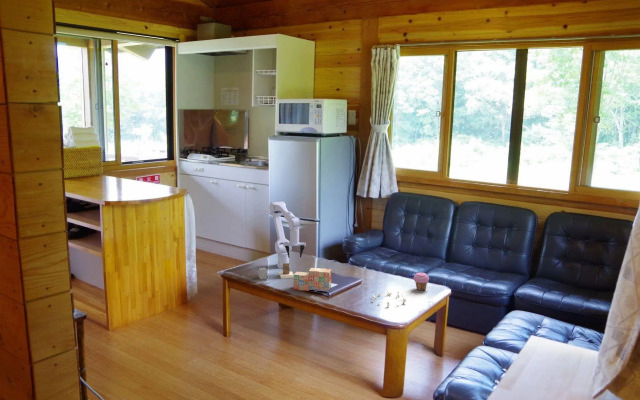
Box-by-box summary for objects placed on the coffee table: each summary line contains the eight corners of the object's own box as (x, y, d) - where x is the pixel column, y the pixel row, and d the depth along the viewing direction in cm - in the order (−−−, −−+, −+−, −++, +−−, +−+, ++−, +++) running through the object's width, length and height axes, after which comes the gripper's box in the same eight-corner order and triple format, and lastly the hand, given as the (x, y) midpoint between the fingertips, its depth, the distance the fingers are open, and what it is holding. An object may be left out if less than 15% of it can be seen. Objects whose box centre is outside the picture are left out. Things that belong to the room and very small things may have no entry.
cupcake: (416, 292, 306) (417, 275, 304) (410, 287, 314) (411, 271, 313) (431, 291, 308) (431, 274, 306) (424, 286, 316) (425, 270, 314)
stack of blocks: (293, 289, 309) (293, 269, 307) (296, 286, 315) (296, 266, 313) (329, 292, 305) (329, 272, 303) (331, 289, 311) (331, 269, 309)
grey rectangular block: (258, 277, 332) (258, 268, 331) (264, 276, 334) (264, 267, 333) (260, 279, 329) (260, 270, 328) (266, 278, 330) (266, 269, 329)
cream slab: (279, 275, 338) (279, 271, 337) (291, 274, 339) (291, 271, 339) (281, 279, 330) (281, 275, 329) (293, 278, 331) (293, 274, 331)
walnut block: (283, 272, 336) (283, 263, 335) (289, 272, 336) (289, 263, 335) (282, 274, 332) (282, 265, 331) (289, 274, 332) (289, 265, 331)
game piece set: (413, 301, 292) (413, 294, 291) (391, 311, 278) (392, 304, 277) (385, 292, 305) (385, 286, 305) (363, 301, 291) (363, 295, 291)
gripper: (283, 238, 333) (284, 259, 335) (306, 237, 335) (306, 258, 338) (282, 235, 340) (283, 256, 342) (305, 235, 342) (305, 255, 345)
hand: (294, 257), depth 340 cm, fingers open, 7 cm apart
